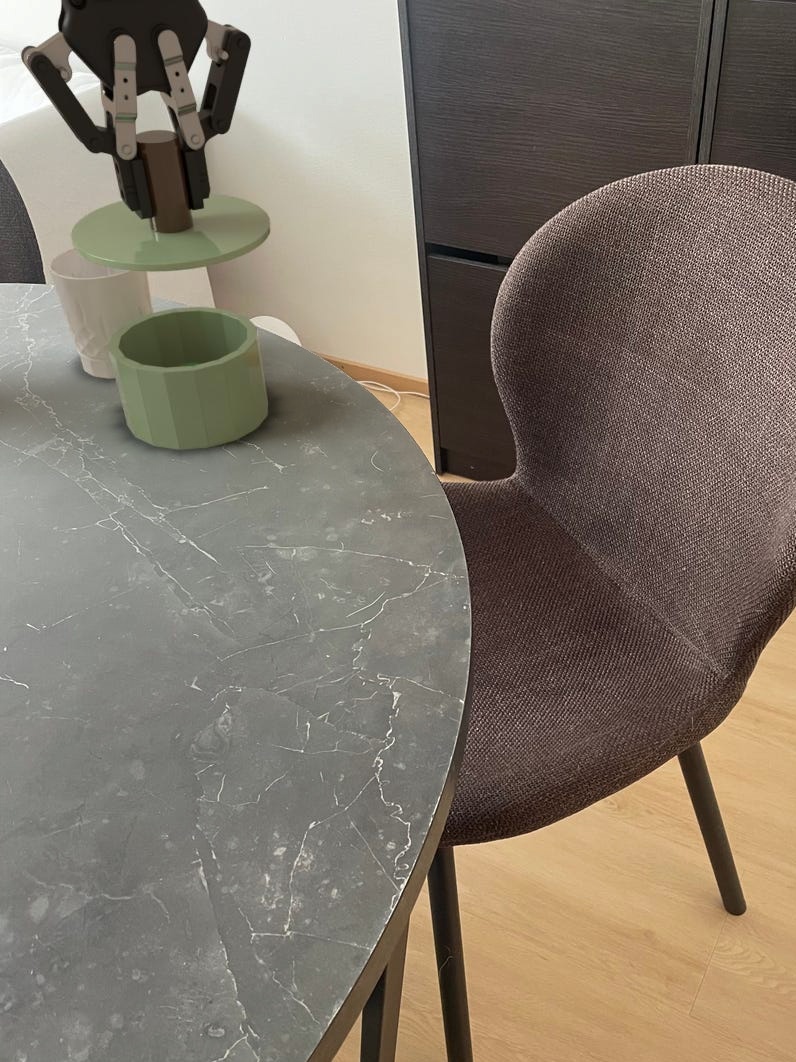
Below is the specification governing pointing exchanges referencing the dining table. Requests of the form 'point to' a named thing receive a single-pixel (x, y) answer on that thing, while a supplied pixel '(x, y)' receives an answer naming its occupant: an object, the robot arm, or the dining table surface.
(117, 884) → the dining table surface
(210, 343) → the pot
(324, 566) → the dining table surface
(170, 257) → the lid
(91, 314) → the white cup
